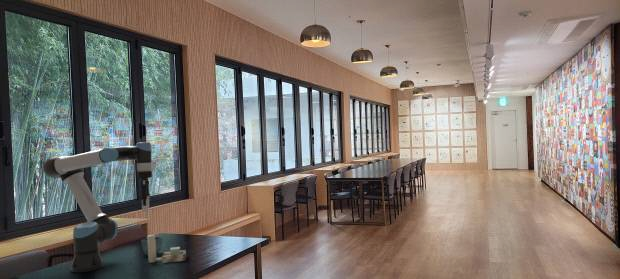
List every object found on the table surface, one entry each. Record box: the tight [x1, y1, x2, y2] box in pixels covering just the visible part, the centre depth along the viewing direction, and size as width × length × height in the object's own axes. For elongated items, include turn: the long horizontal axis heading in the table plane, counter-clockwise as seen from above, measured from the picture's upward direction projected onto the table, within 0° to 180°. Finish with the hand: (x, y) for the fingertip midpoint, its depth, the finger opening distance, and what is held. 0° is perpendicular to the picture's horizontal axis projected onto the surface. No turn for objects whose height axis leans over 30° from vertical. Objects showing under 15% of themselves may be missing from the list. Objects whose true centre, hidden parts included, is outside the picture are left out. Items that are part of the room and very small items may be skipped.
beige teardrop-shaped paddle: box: [146, 234, 181, 264], centre depth 247 cm, size 16×5×14 cm, turn 104°
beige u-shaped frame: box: [161, 249, 187, 264], centre depth 249 cm, size 12×9×4 cm
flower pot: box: [140, 236, 163, 256], centre depth 264 cm, size 9×9×9 cm
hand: (145, 209), depth 246 cm, fingers open, 13 cm apart
